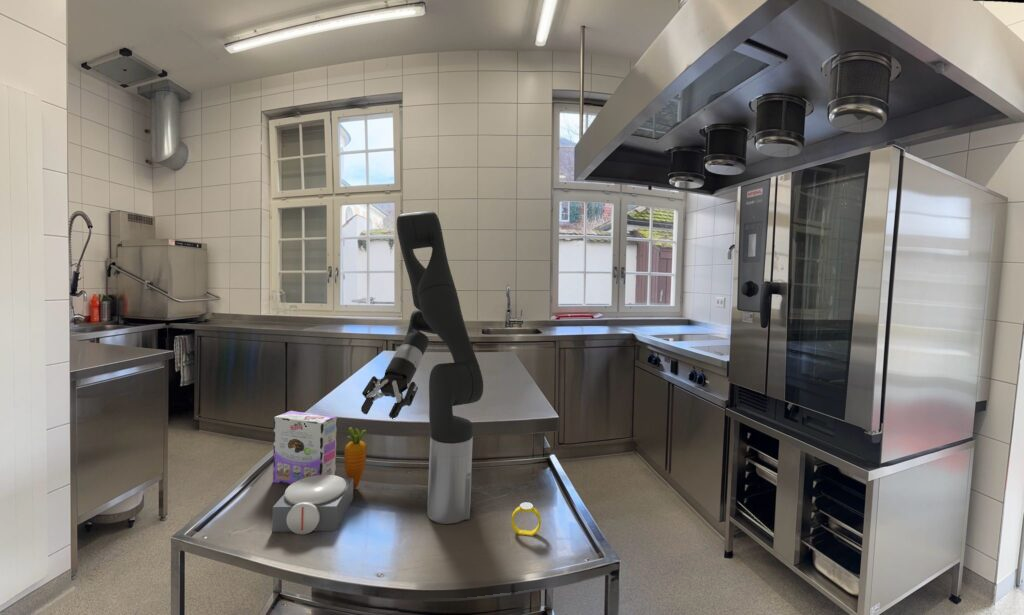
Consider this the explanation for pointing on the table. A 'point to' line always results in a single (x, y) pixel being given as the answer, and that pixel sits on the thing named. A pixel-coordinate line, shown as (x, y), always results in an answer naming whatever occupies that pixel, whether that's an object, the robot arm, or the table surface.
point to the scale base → (311, 513)
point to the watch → (526, 508)
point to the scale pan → (315, 489)
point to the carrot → (355, 456)
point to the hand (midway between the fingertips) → (377, 415)
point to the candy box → (303, 446)
